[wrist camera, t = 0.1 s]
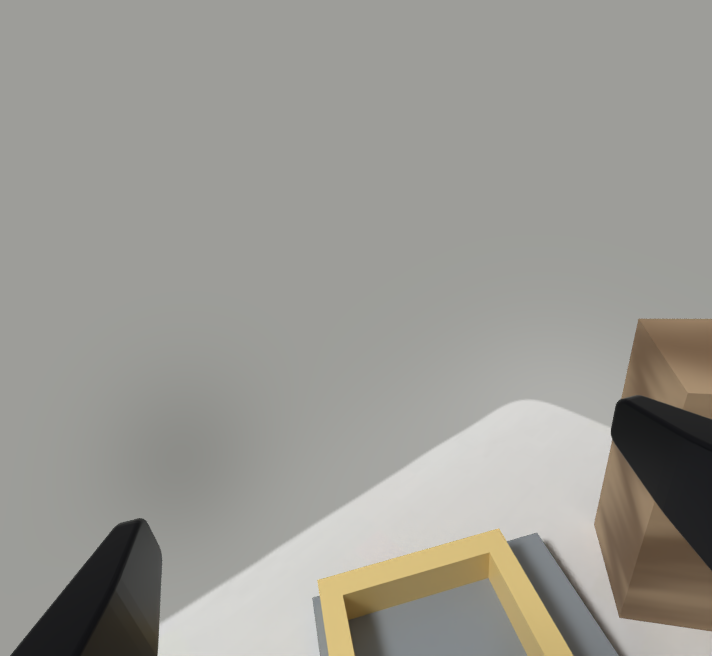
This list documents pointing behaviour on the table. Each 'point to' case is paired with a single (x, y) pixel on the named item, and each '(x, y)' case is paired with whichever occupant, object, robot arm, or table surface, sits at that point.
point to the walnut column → (633, 502)
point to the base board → (458, 604)
